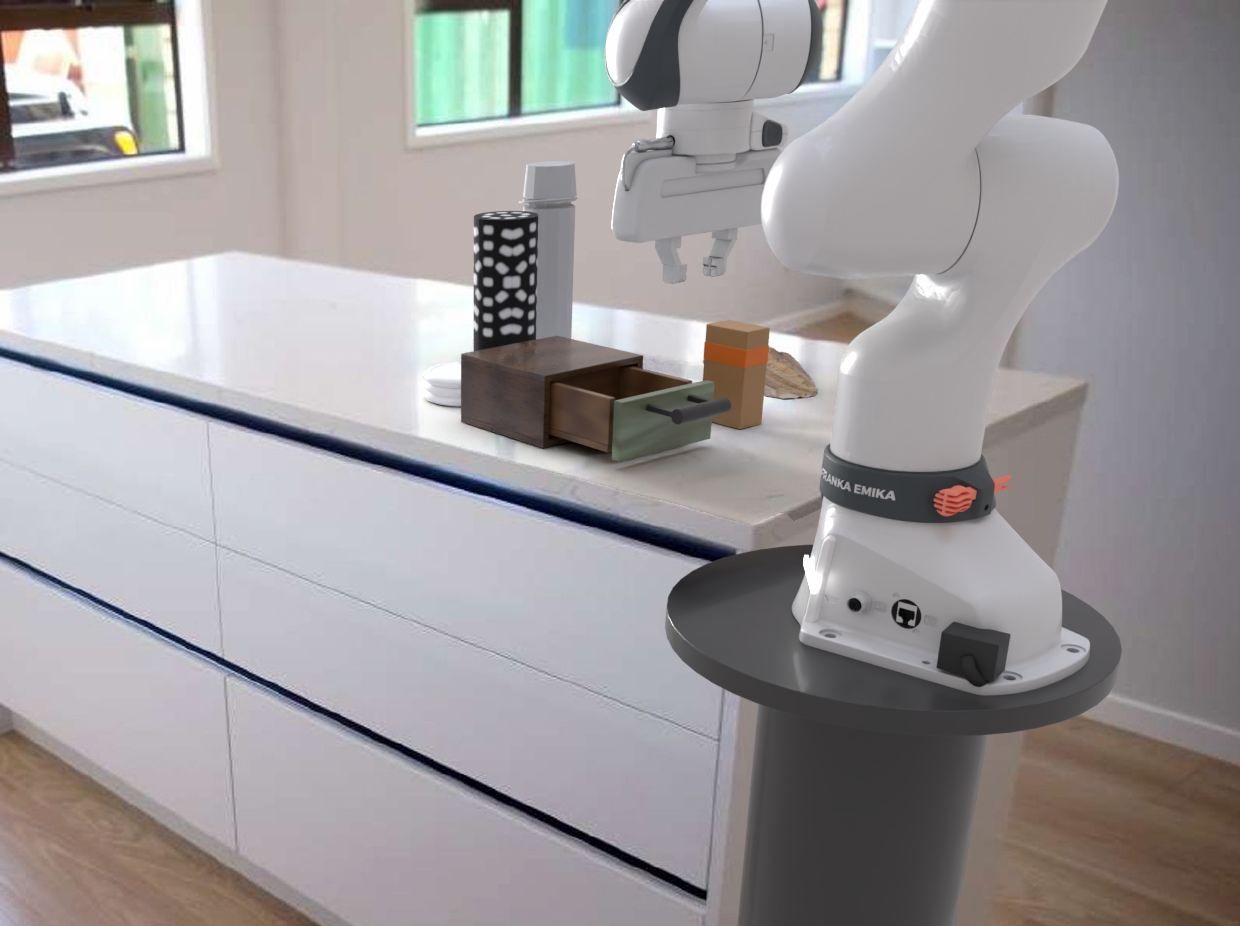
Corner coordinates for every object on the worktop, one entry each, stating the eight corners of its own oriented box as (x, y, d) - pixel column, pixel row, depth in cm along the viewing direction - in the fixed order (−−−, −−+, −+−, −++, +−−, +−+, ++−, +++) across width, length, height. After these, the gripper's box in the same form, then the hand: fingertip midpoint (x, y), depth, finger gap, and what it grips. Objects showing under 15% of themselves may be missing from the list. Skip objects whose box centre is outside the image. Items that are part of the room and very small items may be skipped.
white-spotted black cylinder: (547, 364, 191) (550, 212, 183) (513, 378, 185) (515, 221, 177) (495, 358, 196) (496, 209, 188) (461, 370, 190) (461, 217, 182)
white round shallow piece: (408, 401, 176) (407, 373, 175) (453, 384, 183) (453, 357, 182) (475, 411, 170) (475, 383, 169) (519, 393, 177) (519, 366, 176)
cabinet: (640, 425, 162) (643, 355, 159) (542, 448, 155) (544, 375, 152) (554, 401, 174) (556, 335, 170) (460, 421, 167) (460, 353, 163)
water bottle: (582, 349, 199) (588, 164, 189) (529, 354, 197) (533, 168, 188) (556, 336, 207) (560, 158, 197) (505, 341, 206) (507, 162, 196)
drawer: (748, 449, 148) (753, 390, 146) (656, 473, 142) (660, 412, 140) (622, 414, 163) (624, 360, 161) (533, 435, 157) (534, 379, 154)
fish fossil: (849, 394, 171) (850, 385, 170) (769, 407, 170) (769, 398, 169) (757, 345, 194) (757, 337, 193) (686, 356, 193) (686, 348, 192)
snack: (762, 424, 160) (770, 327, 156) (739, 429, 159) (747, 332, 154) (721, 413, 165) (728, 319, 161) (698, 419, 163) (705, 324, 159)
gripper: (648, 142, 128) (640, 296, 133) (801, 126, 137) (788, 270, 143) (599, 139, 133) (594, 288, 138) (750, 123, 142) (739, 263, 148)
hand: (694, 279), depth 141 cm, fingers open, 4 cm apart
